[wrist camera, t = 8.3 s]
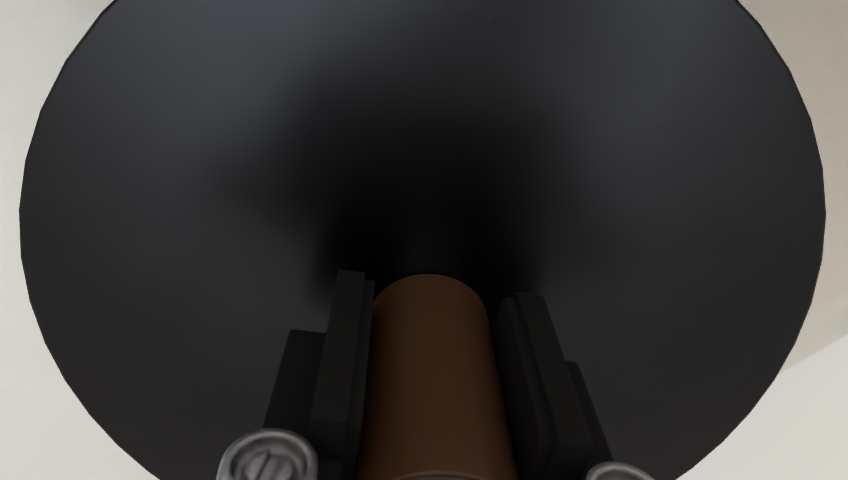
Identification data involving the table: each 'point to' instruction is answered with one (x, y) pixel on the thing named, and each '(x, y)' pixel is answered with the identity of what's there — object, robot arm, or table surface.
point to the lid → (422, 217)
